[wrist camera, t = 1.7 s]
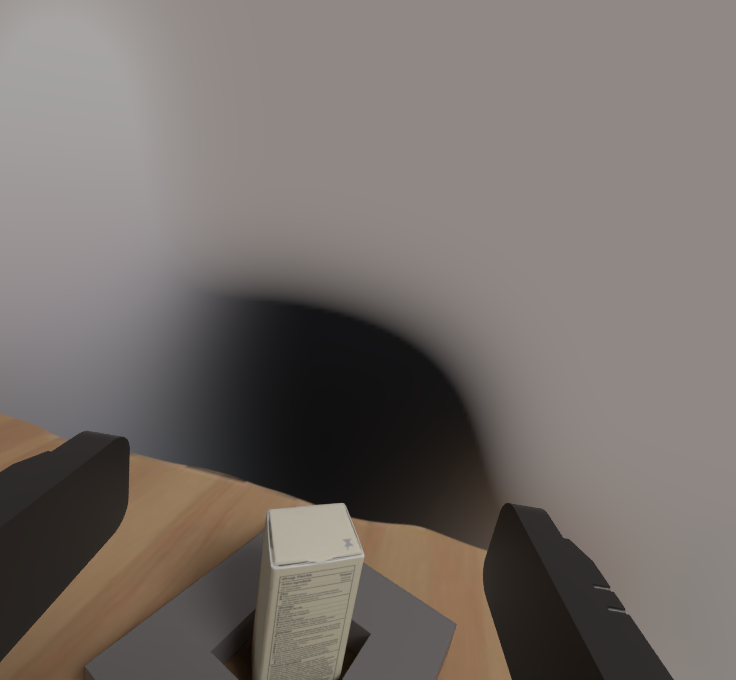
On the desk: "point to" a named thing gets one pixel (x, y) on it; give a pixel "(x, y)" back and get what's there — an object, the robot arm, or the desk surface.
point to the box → (305, 593)
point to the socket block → (236, 622)
